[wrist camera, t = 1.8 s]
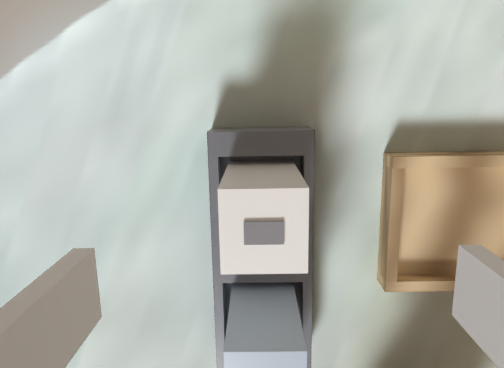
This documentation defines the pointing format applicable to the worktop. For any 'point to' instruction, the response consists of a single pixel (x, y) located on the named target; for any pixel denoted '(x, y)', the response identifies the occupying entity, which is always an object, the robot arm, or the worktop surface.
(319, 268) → the worktop surface
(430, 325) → the worktop surface
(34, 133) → the worktop surface
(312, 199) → the power strip
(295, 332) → the charger blue
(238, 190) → the block
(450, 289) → the tray
